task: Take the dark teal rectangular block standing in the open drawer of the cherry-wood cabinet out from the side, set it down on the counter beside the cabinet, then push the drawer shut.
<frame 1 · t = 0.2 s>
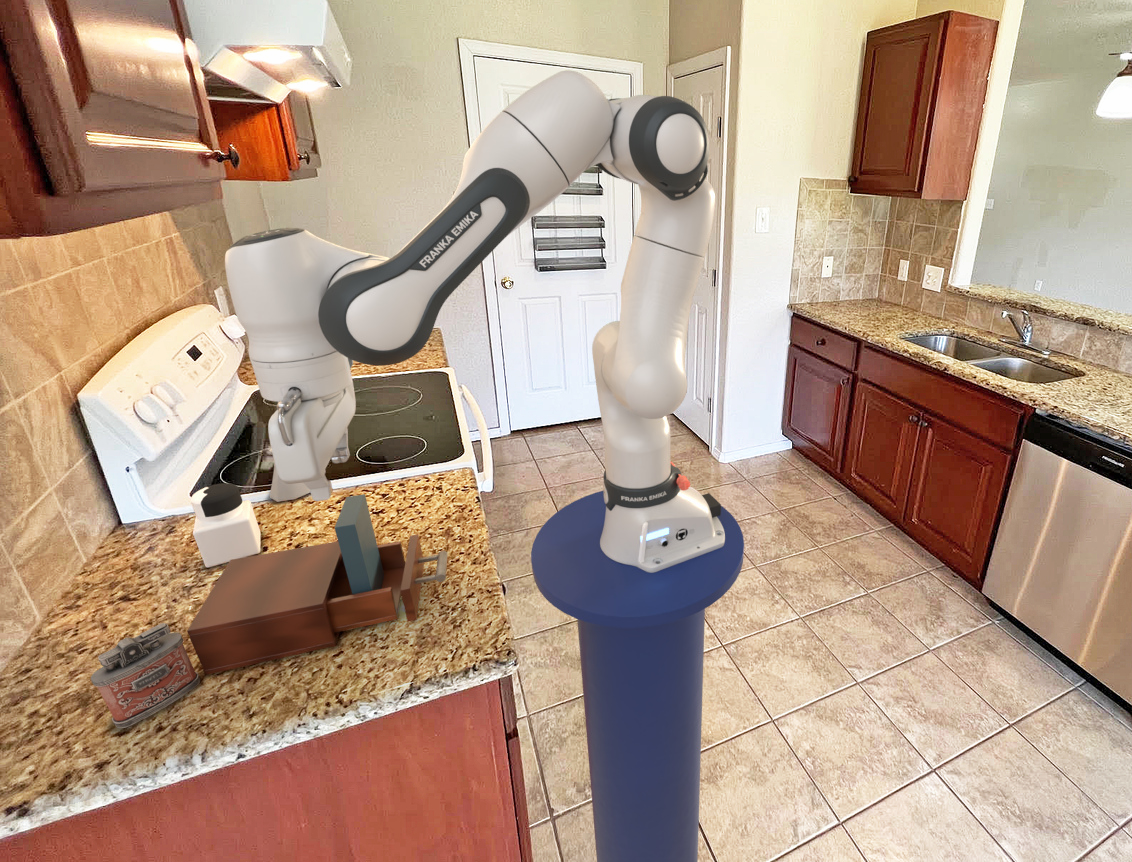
hand: (333, 478, 71), 26 cm above the counter, tool pointing down, fingers open, 8 cm apart
cabinet: (288, 622, 83), on the counter
drawer: (383, 581, 86), point 4 cm above the counter, slide at 9.0 cm, touching dark teal rectangular block
medicine bottle: (235, 551, 97), on the counter
flask: (292, 493, 114), on the counter
lighter: (160, 702, 71), on the counter
dark teal rectangular block: (371, 593, 86), point 2 cm above the counter, touching drawer
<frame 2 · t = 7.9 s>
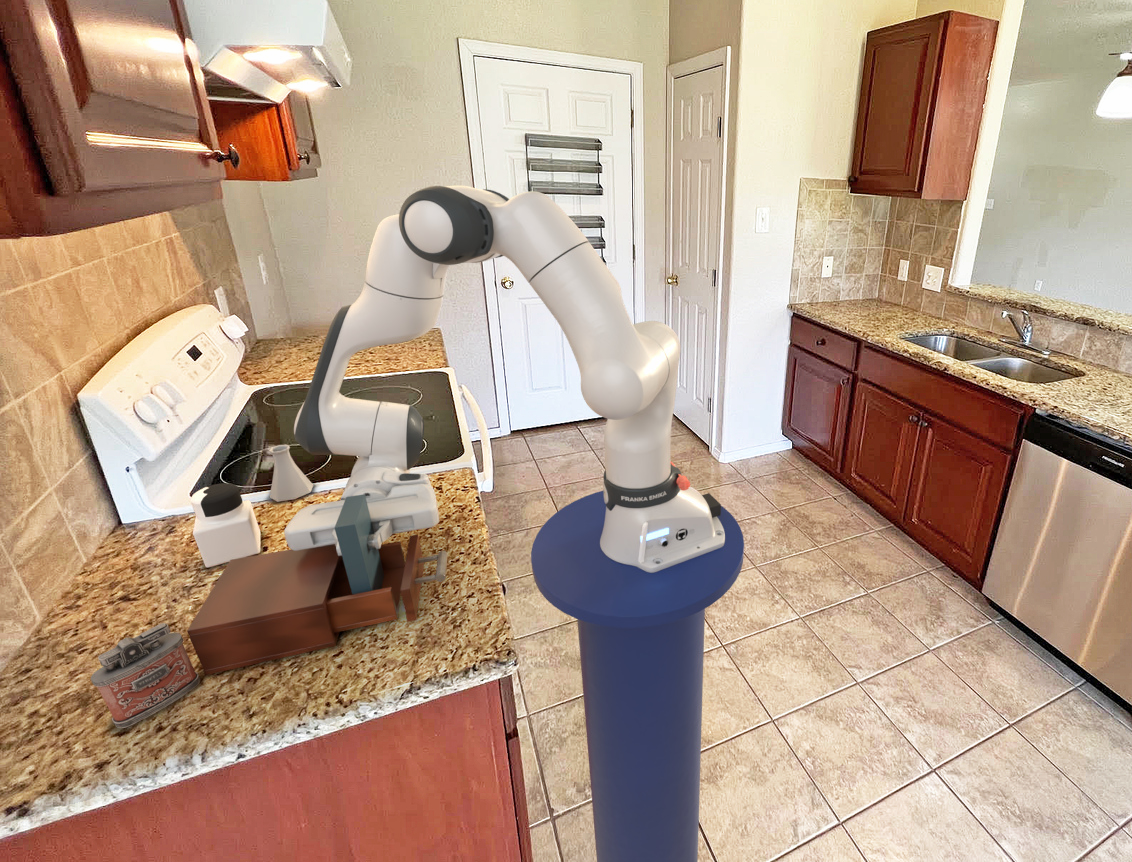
hand: (358, 548, 82), 11 cm above the counter, tool horizontal, fingers closed on dark teal rectangular block, 2 cm apart
dark teal rectangular block: (371, 593, 86), point 2 cm above the counter, touching drawer, gripper
everything else where it was.
when the fingers open (9 cm above the counter, at t = 17.7 s): dark teal rectangular block stays where it is, on the counter.
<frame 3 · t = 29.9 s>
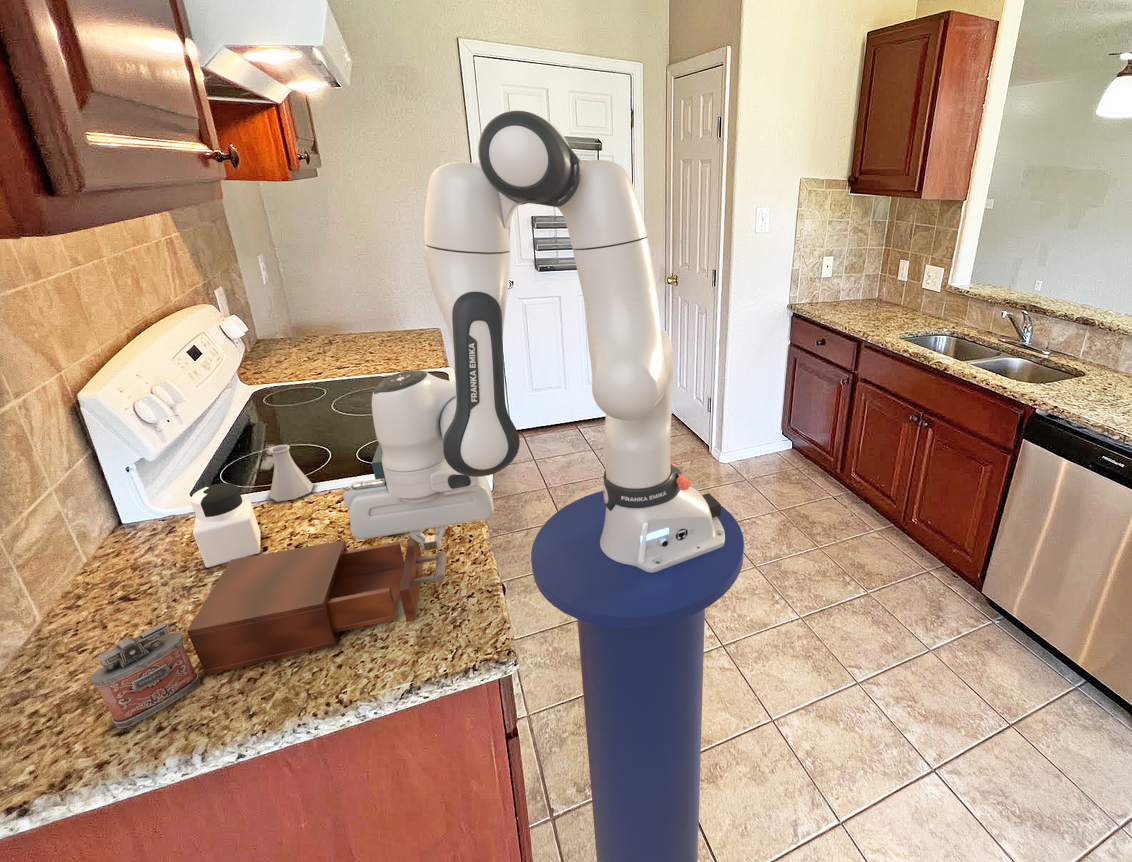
hand: (431, 547, 93), 4 cm above the counter, tool pointing down, fingers closed
drawer: (382, 581, 86), point 4 cm above the counter, slide at 8.8 cm, touching gripper
dark teal rectangular block: (398, 522, 106), on the counter
everything else where it was.
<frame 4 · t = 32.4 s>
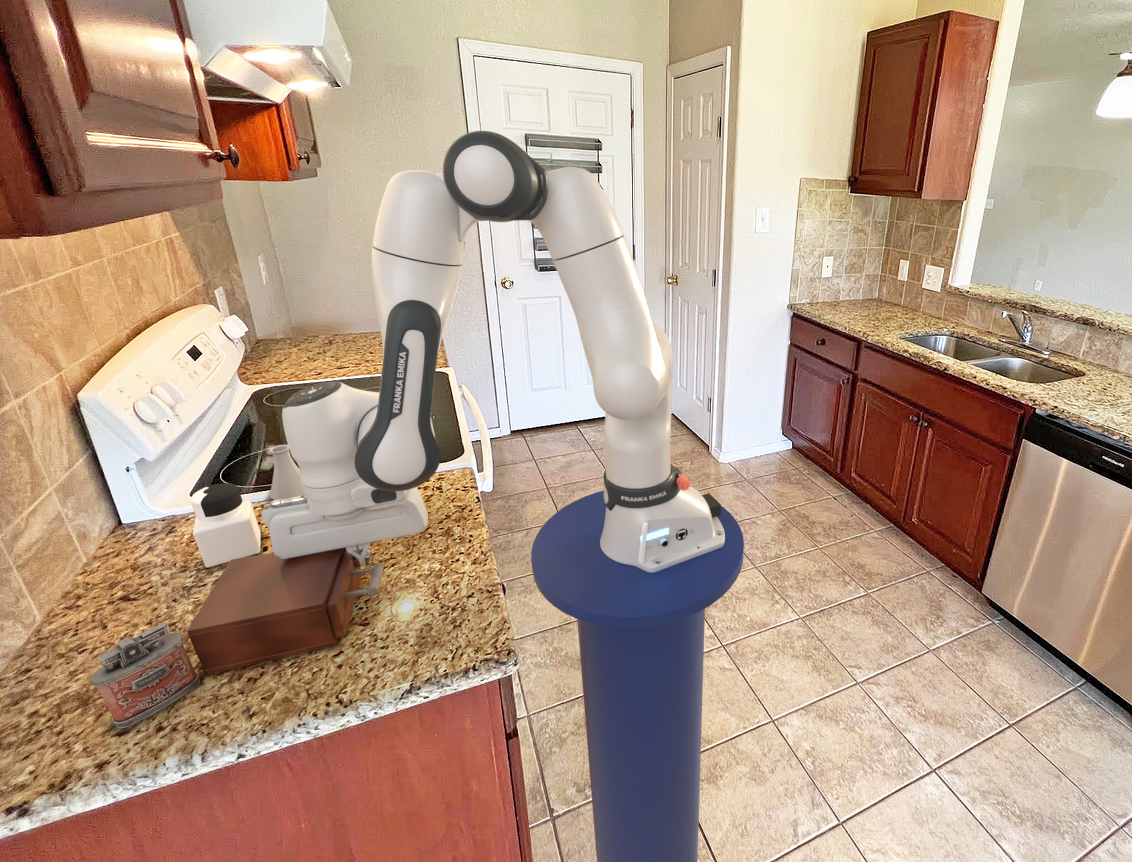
hand: (364, 564, 90), 4 cm above the counter, tool pointing down, fingers closed, pressing on drawer
drawer: (313, 595, 83), point 4 cm above the counter, slide at 0.0 cm, touching cabinet, gripper
everything else where it was.
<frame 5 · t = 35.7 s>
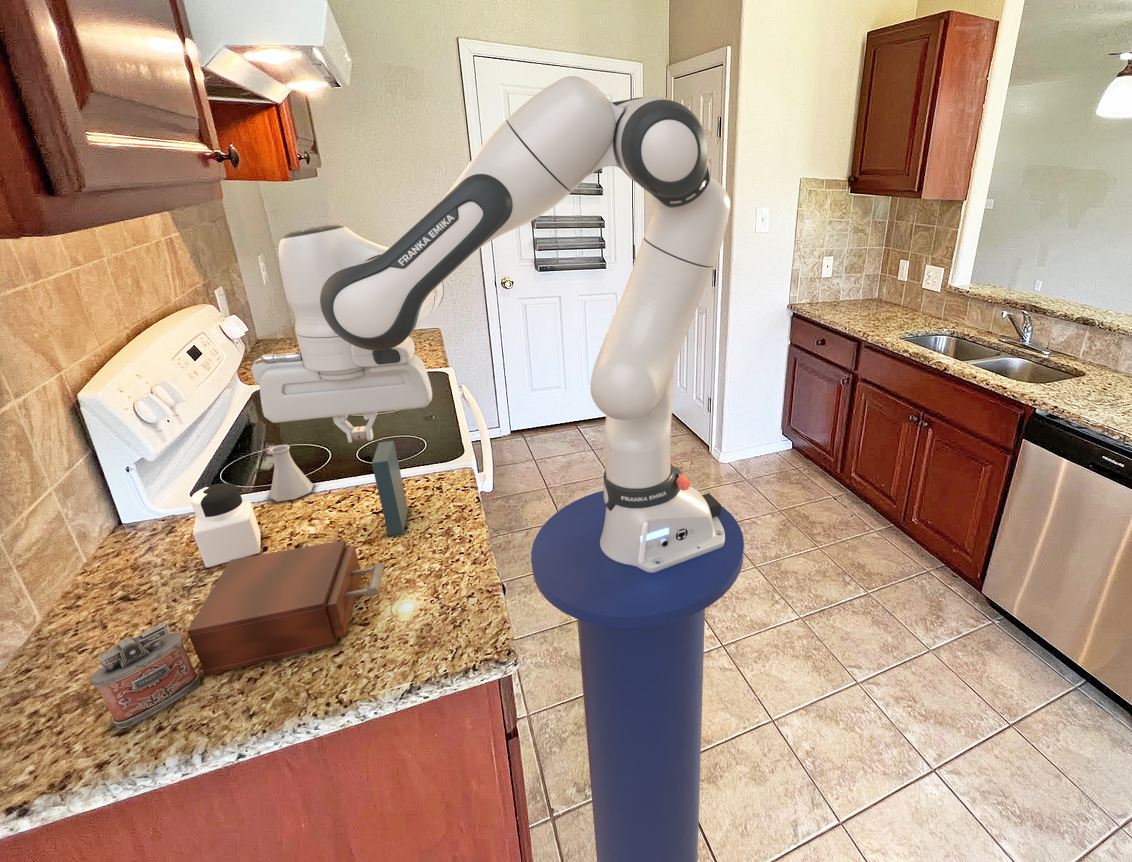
hand: (361, 440, 83), 25 cm above the counter, tool pointing down, fingers closed
drawer: (313, 595, 83), point 4 cm above the counter, slide at 0.0 cm, touching cabinet
everything else where it was.
at the end: dark teal rectangular block inside the target area (0.1 cm from its centre), on the counter; dark teal rectangular block touching counter; drawer slide at 0.0 cm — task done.
